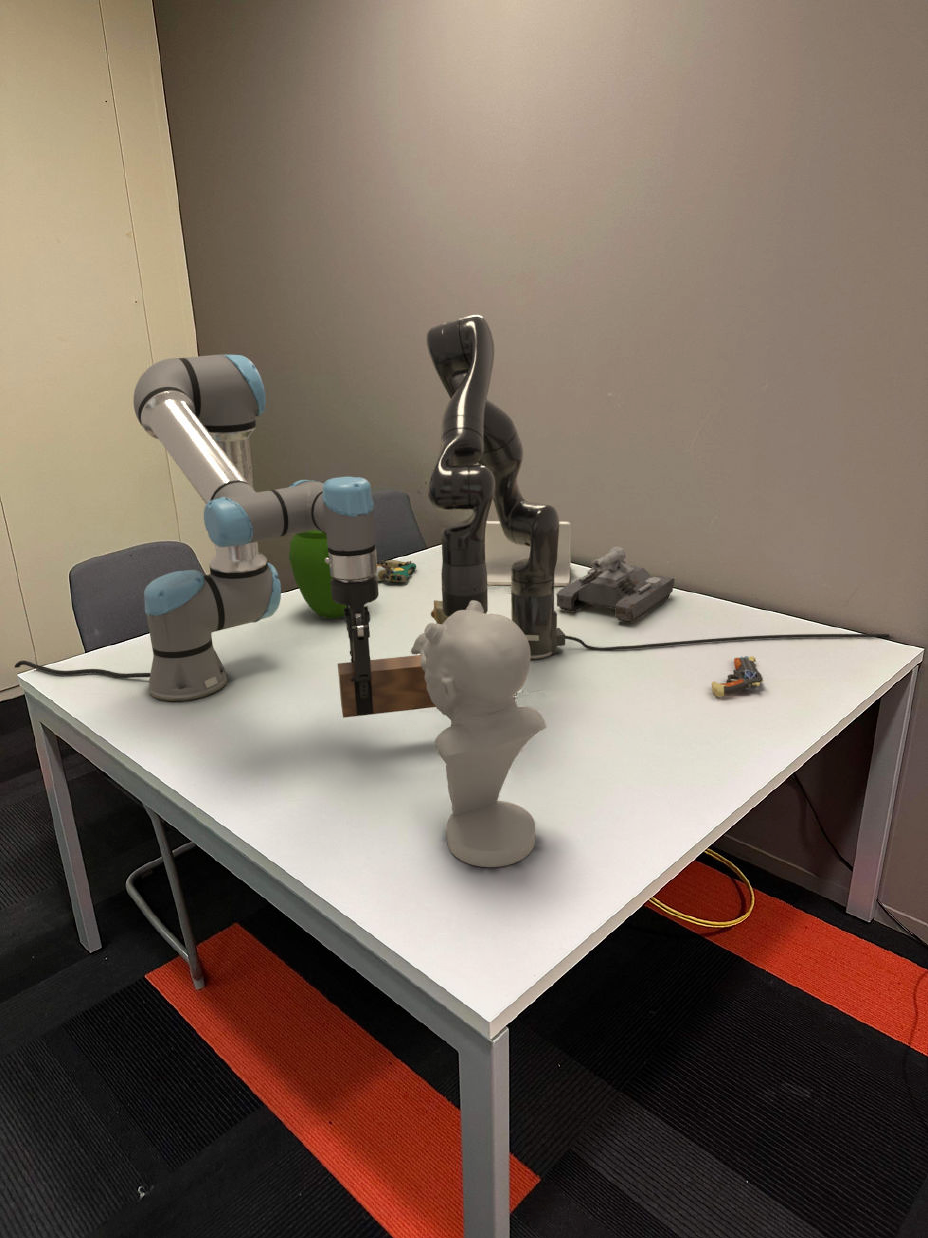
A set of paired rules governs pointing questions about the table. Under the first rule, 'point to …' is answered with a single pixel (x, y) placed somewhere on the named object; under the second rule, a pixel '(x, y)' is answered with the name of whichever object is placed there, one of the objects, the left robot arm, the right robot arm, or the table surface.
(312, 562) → the vase
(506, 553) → the tablet stand
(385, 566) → the spray gun
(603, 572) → the toy
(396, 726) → the table surface
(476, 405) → the right robot arm
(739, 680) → the toy gun
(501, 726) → the bust sculpture
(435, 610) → the sculpture
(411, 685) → the bar
